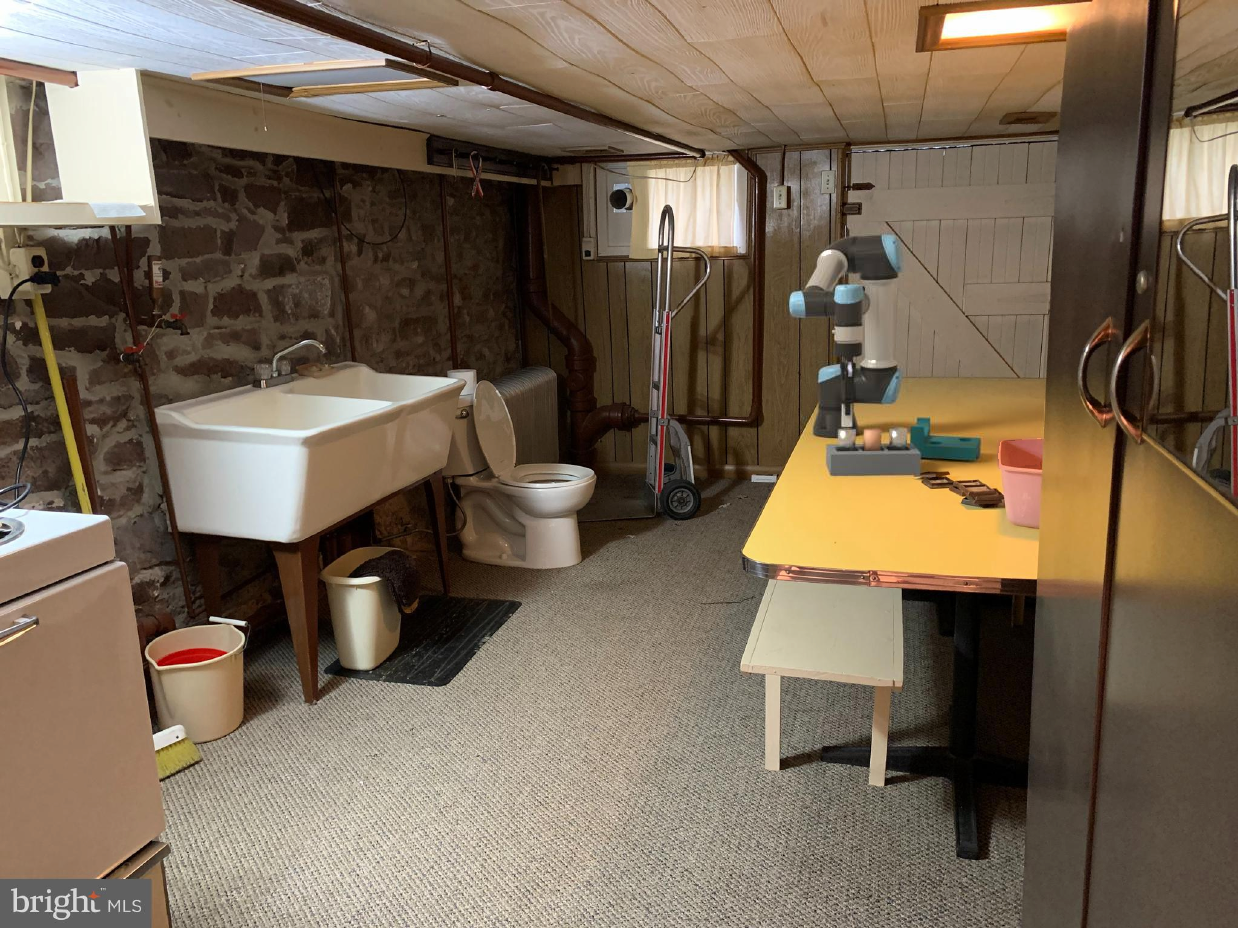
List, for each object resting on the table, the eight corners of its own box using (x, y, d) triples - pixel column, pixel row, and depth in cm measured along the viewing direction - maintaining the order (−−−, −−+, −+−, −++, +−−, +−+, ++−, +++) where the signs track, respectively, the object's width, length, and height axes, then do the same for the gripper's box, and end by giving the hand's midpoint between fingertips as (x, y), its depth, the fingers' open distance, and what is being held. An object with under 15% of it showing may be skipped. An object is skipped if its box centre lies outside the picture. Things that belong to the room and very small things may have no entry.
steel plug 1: (837, 449, 268) (837, 428, 266) (854, 449, 267) (854, 428, 266) (838, 453, 263) (839, 431, 262) (856, 453, 263) (856, 431, 261)
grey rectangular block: (826, 464, 274) (826, 444, 272) (911, 463, 271) (911, 443, 269) (830, 475, 260) (830, 454, 259) (920, 474, 257) (920, 453, 256)
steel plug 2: (887, 449, 266) (888, 427, 265) (905, 448, 265) (905, 427, 264) (890, 452, 261) (890, 430, 260) (908, 452, 261) (908, 430, 259)
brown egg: (862, 449, 267) (862, 428, 266) (879, 449, 266) (880, 427, 265) (864, 453, 262) (864, 431, 261) (882, 452, 262) (882, 430, 260)
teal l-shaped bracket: (910, 461, 277) (910, 426, 274) (917, 450, 286) (917, 417, 283) (974, 465, 268) (975, 430, 265) (980, 454, 277) (981, 420, 274)
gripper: (832, 340, 265) (831, 422, 270) (836, 344, 253) (835, 430, 258) (859, 339, 264) (857, 422, 269) (865, 343, 252) (863, 430, 257)
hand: (846, 426), depth 264 cm, fingers closed
